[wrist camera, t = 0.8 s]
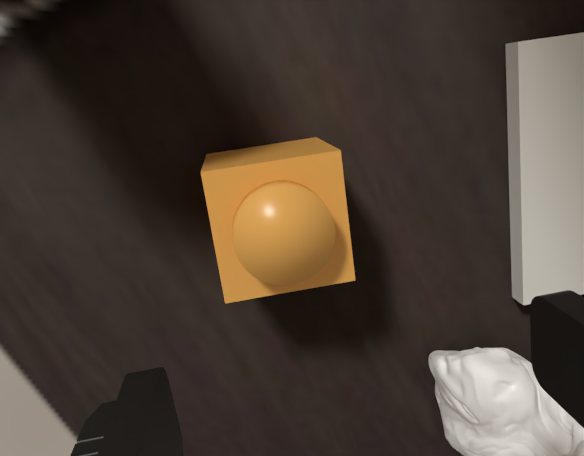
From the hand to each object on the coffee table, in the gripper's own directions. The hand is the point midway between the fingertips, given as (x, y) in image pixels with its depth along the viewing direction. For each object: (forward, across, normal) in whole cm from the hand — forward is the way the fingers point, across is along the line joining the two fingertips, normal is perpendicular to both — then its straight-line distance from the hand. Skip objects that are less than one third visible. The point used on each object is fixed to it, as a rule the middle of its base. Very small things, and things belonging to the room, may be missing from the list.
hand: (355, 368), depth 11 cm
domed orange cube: (+17, 0, 0) cm, 17 cm away
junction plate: (+17, -20, +1) cm, 26 cm away
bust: (+17, -11, +14) cm, 24 cm away
